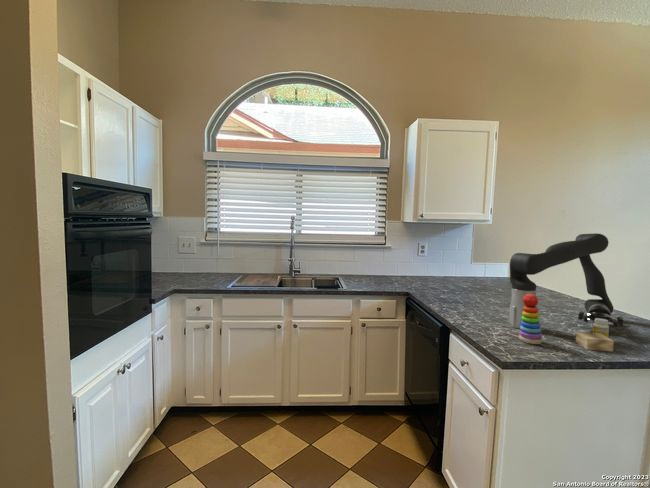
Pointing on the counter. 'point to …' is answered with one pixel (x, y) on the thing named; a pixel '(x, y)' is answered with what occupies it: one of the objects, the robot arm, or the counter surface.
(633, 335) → the counter surface
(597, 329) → the supplement bottle
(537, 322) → the stacking toy
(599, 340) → the oak block
